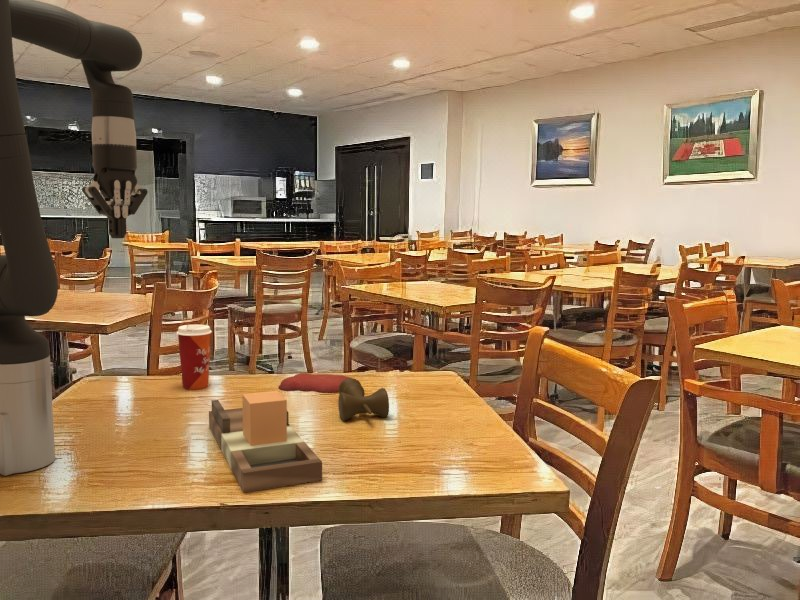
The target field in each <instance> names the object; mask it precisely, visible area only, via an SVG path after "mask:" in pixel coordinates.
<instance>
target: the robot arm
mask: <svg viewBox="0 0 800 600" xmlns="http://www.w3.org/2000/svg"><path fill="white" fill-rule="evenodd" d="M13 39H16V40H19V41H23V42H25V43H29V44H31V45H35V46H38V47H41V48H44V49H46V50H49V51H51V52H54V53H57V54H60V55H62V56H65V57H68V58H71V59H75V60H80V62H81V65H82V68H83V72H84V74H85V78H86V81H87V84H88V88H89V91H90V94H91V112H92V113H91V114H92V123H91V150H92V168H94V171H95V172H94V175H93V177H92V178H93V179H92V181H93V182H91V183H90V184H89V185H88V186H83V187H82V189H81V190H82V192H83V194H84V196H85V197H86V199H87V200H88V201H89V203H91V205H92V207H93V208H94V209H95V210H96V212H97V214H98V215H103V216H104V217H106V218H107V223H108V225H107V227H108V233H109V236H110V238H111V239H125V237H126V235H127V218H128V217H129V216H131V215H135V214H136V213H137V212H138V210H139V208H140V206H141V205H142V203H143V201H144V200H145V198H146V197H147V195H148V192H149V191H148V189H146V188H142V187H141V186H140V185H139V184H138V178H137V176H136V170H137V169H138V164H137V163H138V160H137V159H138V158H137V133H136V127H135V126H136V125H135V120H134V119H135V115H134V111H135V109H134V107H135V106H134V96H133V95H134V94H133V91H132V90H131V89H130V88H129V87H127V86H126V85H123V84H118V83H115V81H114V78H113V75H112V72H114V73H115V72H128V71H132V70H134V69H137V67H138V66H139V65H140V64H141V62H142V57H143V49H142V46H141V43H140V42H139V40H138V39H137V37H136V36H135V35H134V34H133V33H132V32H130V31H128V30H127V29H124V28H122V27H119V26H117V25H114V24H113V25H112V24H108V23H103V22H99V21H95V20H91V19H88V18H87V19H86V18H85V17H83V16H81V15H79V14H76V13H74V12H72V11H71V10H68V9H66V8H63V7H60V6H58V5H55V4H51V3H48V2H44V1H41V0H0V238H1V241H2V246H3V249H4V254H5V255H4V254H0V475H2V476H10V475H12V474H13V475H14V474H19V473H26V472H32V471H36V470H38V469H42V468H44V467H47V466H49V465H50V464H53V462H54V461H55V459H56V451H55V450H56V449H55V448H56V445H55V431H54V430H55V428H54V410H53V409H54V407H53V393H52V392H53V391H52V373H51V372H52V371H51V370H52V369H51V351H50V341H49V340H48V338H47V337H46V336H45V335H44V334H42V333H39V332H38V331H36V330H35V329H34V328H32V327H31V326H30V325H29V323H28V322H27V320H26V317H39V316H44V315H46V314H47V313H49V312H50V311H51V310H52V309H53V308H54V305H56V302H57V299H58V292H59V284H58V283H59V282H58V281H59V279H58V274H57V270H56V265H55V261H54V258H53V255H52V252H51V249H50V245H49V241H48V238H47V235H46V230H45V228H44V223H43V220H42V216H41V212H40V206H39V202H38V196H37V192H36V187H35V183H34V177H33V171H32V162H31V155H30V149H29V145H28V144H29V143H28V138H27V133H26V129H25V123H24V118H23V115H22V110H21V109H22V108H21V104H20V95H19V90H18V84H17V83H18V82H17V77H16V75H17V74H16V69H15V68H16V67H15V60H14V59H15V58H14V49H13Z"/></svg>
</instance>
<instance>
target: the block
mask: <svg viewBox="0 0 800 600" xmlns="http://www.w3.org/2000/svg"><path fill="white" fill-rule="evenodd" d="M241 395H242V408H243V435H244V437H245V438H246V440H247V441H248V443H249V444H250V446H252V445H260V444H267V443H275V442H283V441H287V411H288V409H287V408H288V402H287V399H286V398H285V397H284V396H283V395H282V394H281V393H280V392H279V391H278V390H272V391H263V392H261V391H260V392H253V393H242V394H241Z"/></svg>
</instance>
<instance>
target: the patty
mask: <svg viewBox="0 0 800 600" xmlns="http://www.w3.org/2000/svg"><path fill="white" fill-rule="evenodd" d="M349 378H351V377H349V376H346V375H341V374H328V373H327V374H326V373H325V374H319V373H317V374H316V373H314V374H311V373H308V372H301V373H296V374H294V375H292V376H288V377H286V378H284V379H283V380H281V381H280V384H279V385H278V389H279V390H280V391H284V392H297V391H299V392H314V393H322V394H339V385H340V384H341V382H342V381H344V380H345V379H349Z"/></svg>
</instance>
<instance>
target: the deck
mask: <svg viewBox="0 0 800 600" xmlns="http://www.w3.org/2000/svg"><path fill="white" fill-rule="evenodd" d="M289 414H290V413H289V411H288V410H287V441H283V442H275V443H267V444H260V445H252V446H250V444H249V443H248V441H247V440H246V438H245V437H244V435H243V407H237V408H230V409H224V406H223V405H222V404H221V402H220V400H219V399H213V400H212V399H211V411H208V427H209V430H210V431H211V433H212V435H213V438H214V439H215V440H216V443H217V444H218V446H219V448H220V450H221V453H222V455H223V456H224V458H225V460H226V461H227V463H228V466H229V468H230V470H231V471H232V473H233V475H234V477H235V479H236V481H237V483H238V485H239V487H240V489H241V491H242V492H243V493H250V492H251V493H252V492H256V491H262V490H263V491H264V490H269V489H276V488H281V486H283V487H288V486H287V485H290V486H294V484H296V485H301V484H300V483H303V484H308V483H307V482H309V483H314V482H315V481H316V482H320V481H319V480H322V481H323V461H322V460H321V459H320V457H319V456H318V454H316V453H315V452H314V450H313V449H312V448H311V447H310V446H309V445H308V444H307V443H306V442H305V440H304V439H303V438H302V437H301V436H300V435H299V434H298V432H297V431H296V430H295V429H294V427H292V426H291V425H290V422H289V419H290V418H289V416H290V415H289Z"/></svg>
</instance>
